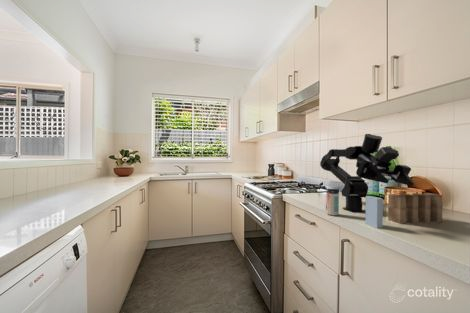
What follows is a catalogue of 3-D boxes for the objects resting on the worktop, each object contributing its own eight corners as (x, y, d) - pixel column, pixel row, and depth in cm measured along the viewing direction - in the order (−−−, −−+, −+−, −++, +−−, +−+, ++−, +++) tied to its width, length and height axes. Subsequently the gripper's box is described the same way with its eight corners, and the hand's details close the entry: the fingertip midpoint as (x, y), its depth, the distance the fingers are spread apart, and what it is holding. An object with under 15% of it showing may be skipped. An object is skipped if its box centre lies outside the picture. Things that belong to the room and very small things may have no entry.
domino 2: (400, 219, 84) (400, 193, 84) (404, 218, 84) (405, 193, 84) (412, 223, 79) (413, 196, 79) (417, 222, 79) (418, 195, 79)
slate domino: (365, 223, 78) (365, 196, 78) (370, 223, 78) (371, 195, 78) (376, 228, 73) (377, 198, 73) (382, 227, 73) (382, 198, 73)
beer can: (327, 212, 93) (328, 184, 93) (339, 214, 90) (340, 185, 90) (324, 214, 89) (324, 185, 89) (336, 216, 86) (337, 187, 86)
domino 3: (412, 218, 85) (412, 193, 85) (416, 218, 85) (417, 193, 85) (425, 222, 80) (425, 195, 80) (430, 222, 80) (430, 195, 80)
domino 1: (388, 219, 83) (388, 193, 83) (392, 219, 83) (393, 193, 83) (400, 223, 78) (400, 196, 78) (405, 223, 78) (405, 196, 78)
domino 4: (423, 217, 86) (424, 193, 86) (428, 217, 86) (428, 192, 86) (437, 221, 81) (437, 195, 81) (442, 221, 81) (442, 195, 81)
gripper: (356, 141, 81) (385, 158, 67) (401, 147, 83) (437, 165, 69) (346, 167, 86) (371, 188, 72) (388, 171, 88) (420, 193, 74)
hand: (400, 183), depth 72 cm, fingers open, 9 cm apart
